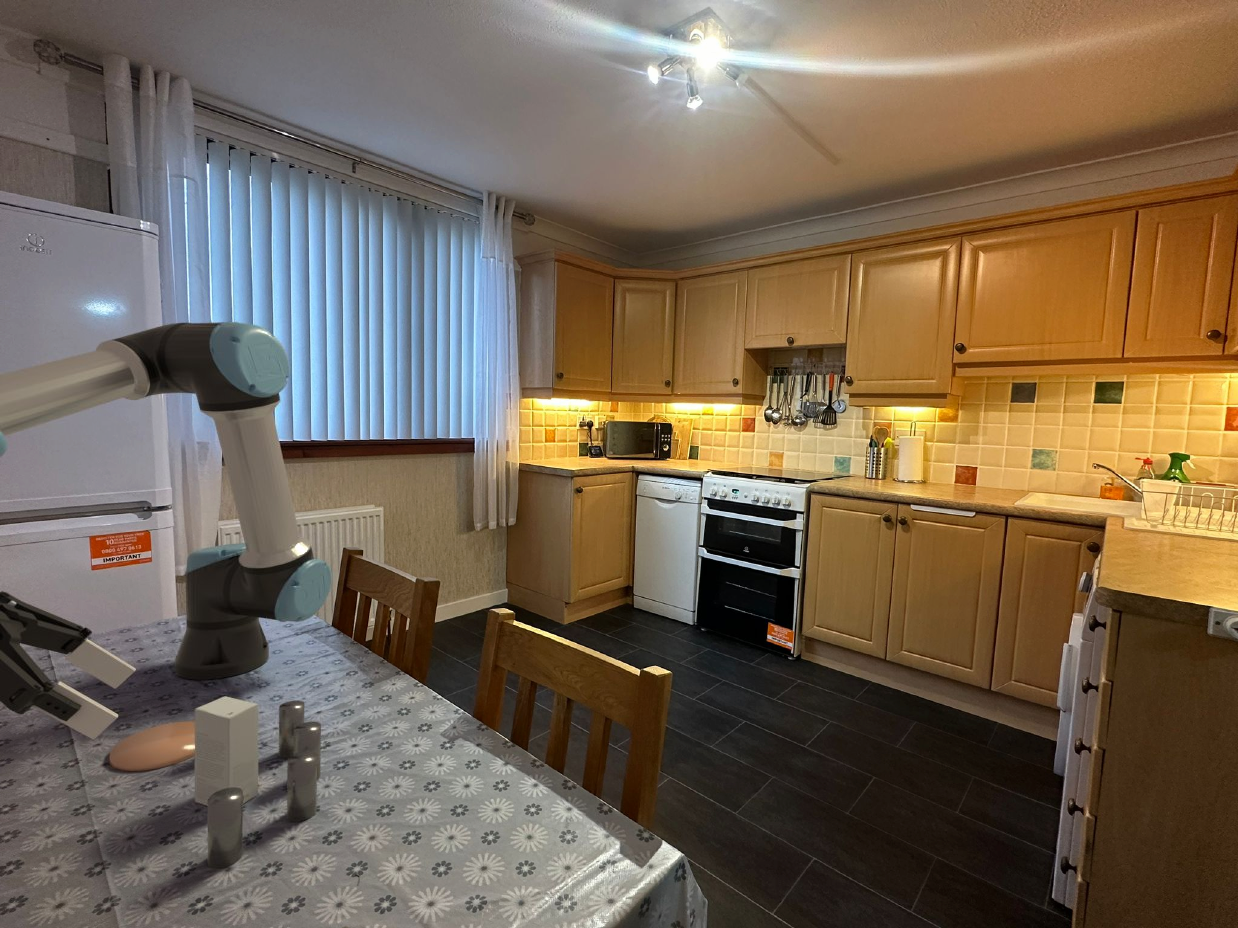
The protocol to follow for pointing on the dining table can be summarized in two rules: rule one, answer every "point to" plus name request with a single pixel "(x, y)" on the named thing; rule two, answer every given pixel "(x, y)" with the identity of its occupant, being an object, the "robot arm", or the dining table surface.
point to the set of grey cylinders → (302, 776)
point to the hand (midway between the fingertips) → (117, 701)
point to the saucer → (155, 747)
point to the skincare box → (226, 748)
